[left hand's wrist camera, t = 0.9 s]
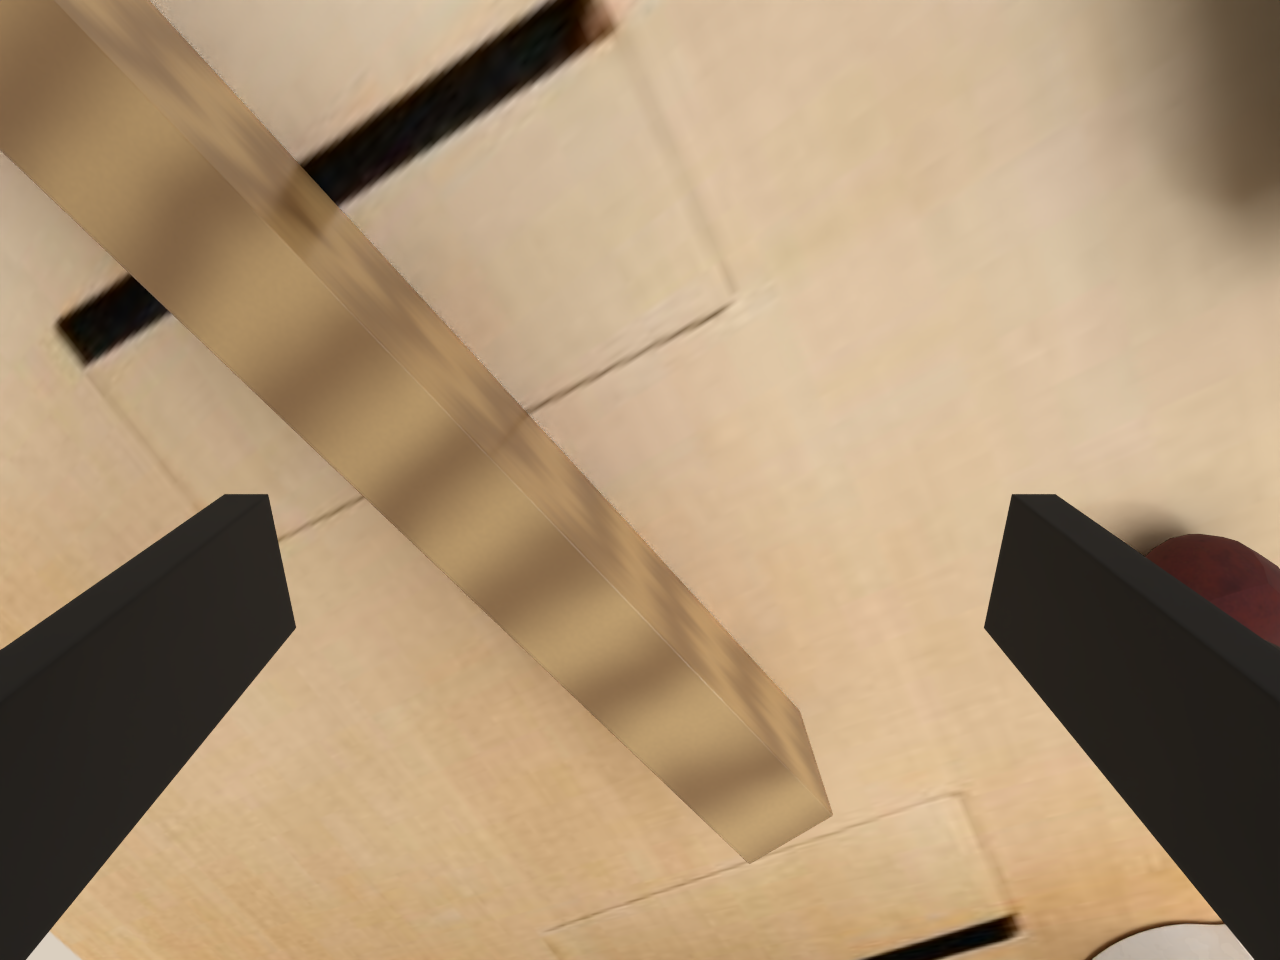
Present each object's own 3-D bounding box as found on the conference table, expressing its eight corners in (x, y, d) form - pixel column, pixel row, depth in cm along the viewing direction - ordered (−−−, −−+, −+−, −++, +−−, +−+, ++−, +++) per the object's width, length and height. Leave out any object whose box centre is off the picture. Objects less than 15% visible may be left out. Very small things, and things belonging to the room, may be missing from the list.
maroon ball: (1113, 645, 43) (1198, 724, 37) (1085, 543, 41) (1172, 607, 34) (1237, 601, 42) (1347, 673, 36) (1216, 493, 40) (1331, 549, 33)
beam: (-289, -278, 28) (-650, -468, 20) (-219, -403, 26) (-577, -658, 19) (730, 755, 46) (749, 865, 39) (800, 711, 45) (833, 815, 37)
